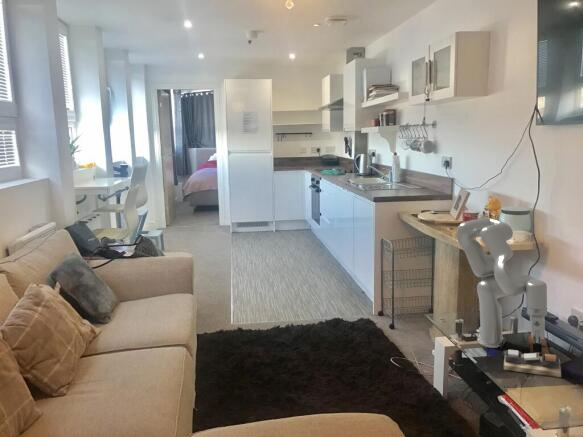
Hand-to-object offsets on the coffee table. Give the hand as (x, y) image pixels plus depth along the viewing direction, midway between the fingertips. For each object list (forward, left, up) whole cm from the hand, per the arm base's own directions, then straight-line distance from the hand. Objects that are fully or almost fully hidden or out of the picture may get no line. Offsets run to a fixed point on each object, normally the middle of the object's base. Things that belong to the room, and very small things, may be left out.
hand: (537, 351), depth 192 cm
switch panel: (-2, -1, -7) cm, 8 cm away
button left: (-7, -6, -4) cm, 10 cm away
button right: (+3, +3, -4) cm, 6 cm away
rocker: (-2, -1, -3) cm, 4 cm away
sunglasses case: (-12, +13, -8) cm, 19 cm away
